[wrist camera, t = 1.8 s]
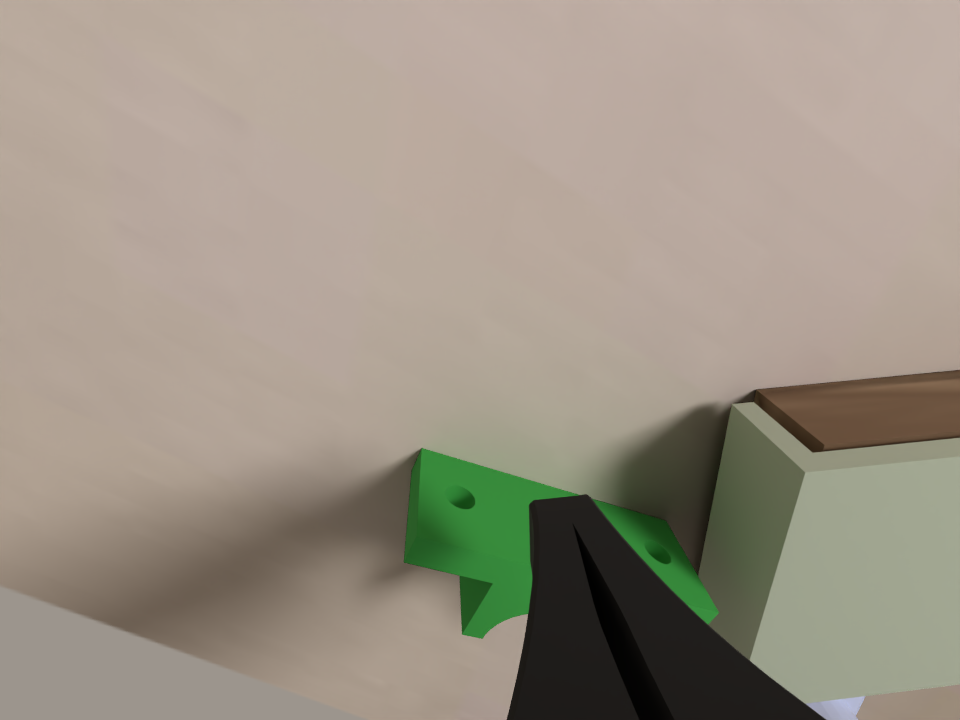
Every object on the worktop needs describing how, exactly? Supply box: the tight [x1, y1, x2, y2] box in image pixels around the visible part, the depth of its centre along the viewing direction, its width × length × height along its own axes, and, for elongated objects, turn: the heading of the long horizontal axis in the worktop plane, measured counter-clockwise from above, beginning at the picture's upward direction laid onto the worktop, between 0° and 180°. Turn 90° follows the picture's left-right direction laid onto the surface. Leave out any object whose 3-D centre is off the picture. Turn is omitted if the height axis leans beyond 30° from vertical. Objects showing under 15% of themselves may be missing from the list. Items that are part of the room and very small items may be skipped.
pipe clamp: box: [404, 448, 719, 639], centre depth 18 cm, size 11×4×5 cm, turn 67°
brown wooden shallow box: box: [754, 370, 960, 453], centre depth 19 cm, size 12×16×4 cm
